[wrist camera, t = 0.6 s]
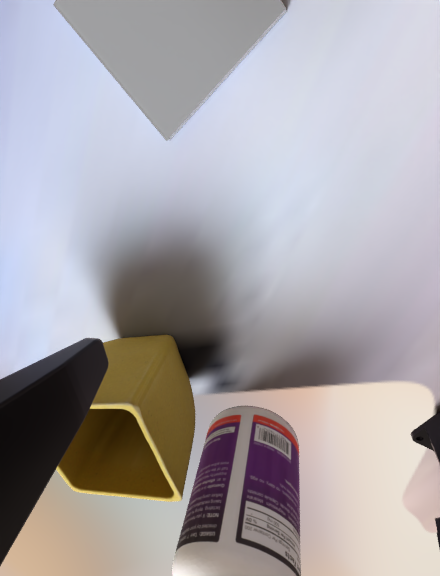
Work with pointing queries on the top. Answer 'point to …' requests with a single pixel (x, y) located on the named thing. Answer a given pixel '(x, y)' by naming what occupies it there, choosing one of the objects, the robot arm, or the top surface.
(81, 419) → the robot arm
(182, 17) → the slate tile
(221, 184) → the top surface
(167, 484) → the flower pot
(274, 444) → the pill bottle
